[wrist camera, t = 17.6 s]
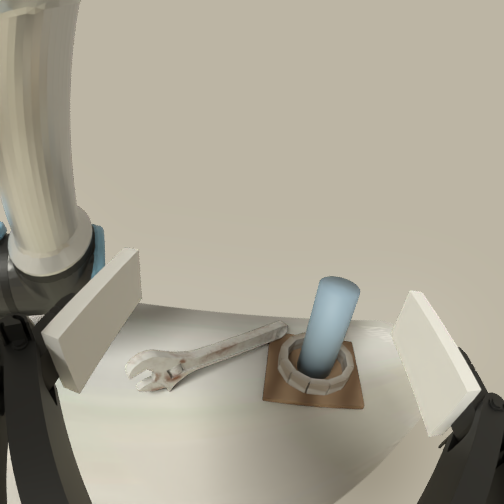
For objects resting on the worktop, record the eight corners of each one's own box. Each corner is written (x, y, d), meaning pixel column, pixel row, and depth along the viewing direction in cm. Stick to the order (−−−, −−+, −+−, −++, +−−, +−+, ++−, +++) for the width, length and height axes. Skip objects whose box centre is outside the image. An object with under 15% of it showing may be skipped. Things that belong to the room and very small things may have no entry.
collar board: (262, 400, 40) (265, 387, 39) (270, 334, 55) (272, 320, 53) (362, 409, 39) (370, 396, 38) (350, 344, 54) (355, 332, 52)
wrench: (283, 347, 54) (133, 404, 35) (276, 342, 56) (128, 395, 36) (293, 312, 52) (127, 364, 32) (286, 307, 53) (122, 355, 34)
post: (296, 378, 44) (321, 295, 37) (296, 353, 50) (317, 274, 43) (332, 381, 44) (364, 301, 37) (329, 356, 49) (355, 279, 43)
